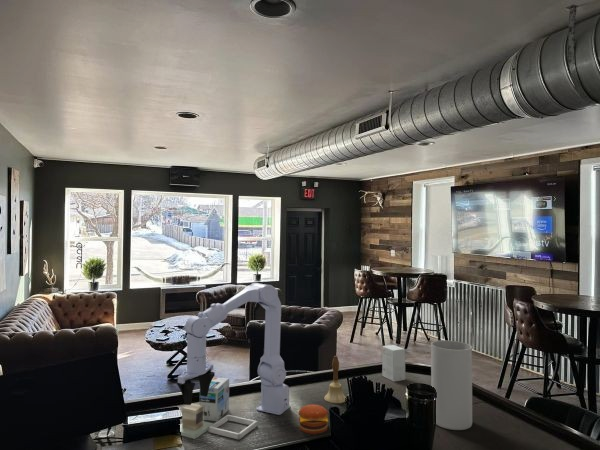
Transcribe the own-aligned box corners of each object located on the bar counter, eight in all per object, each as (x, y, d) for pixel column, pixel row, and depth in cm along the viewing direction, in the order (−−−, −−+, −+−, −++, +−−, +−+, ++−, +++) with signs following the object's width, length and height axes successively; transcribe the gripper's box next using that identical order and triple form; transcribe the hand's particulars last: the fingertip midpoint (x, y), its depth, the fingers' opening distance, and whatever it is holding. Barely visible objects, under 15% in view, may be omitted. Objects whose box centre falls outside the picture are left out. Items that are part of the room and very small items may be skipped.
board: (213, 426, 134) (213, 423, 134) (194, 438, 126) (194, 435, 126) (190, 421, 138) (190, 418, 138) (171, 432, 129) (171, 429, 129)
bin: (257, 425, 134) (257, 421, 134) (239, 439, 125) (239, 434, 125) (227, 419, 139) (227, 414, 139) (208, 432, 130) (208, 427, 130)
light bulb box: (217, 422, 137) (218, 388, 138) (198, 420, 139) (198, 386, 139) (229, 408, 148) (229, 377, 148) (211, 407, 149) (211, 376, 149)
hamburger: (330, 433, 129) (330, 411, 130) (299, 435, 129) (299, 413, 129) (326, 420, 139) (326, 400, 139) (296, 421, 138) (296, 400, 138)
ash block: (195, 430, 129) (195, 410, 129) (182, 427, 131) (182, 407, 131) (203, 425, 132) (203, 406, 132) (190, 422, 134) (191, 403, 135)
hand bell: (351, 400, 156) (351, 356, 156) (333, 405, 151) (333, 360, 152) (336, 393, 163) (337, 351, 163) (319, 398, 158) (319, 354, 159)
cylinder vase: (473, 434, 129) (472, 351, 130) (430, 427, 134) (430, 347, 134) (471, 417, 141) (471, 342, 142) (432, 412, 146) (432, 339, 146)
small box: (405, 380, 178) (405, 348, 179) (393, 382, 176) (393, 350, 176) (393, 374, 186) (393, 344, 186) (381, 376, 183) (381, 345, 183)
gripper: (201, 348, 140) (200, 390, 140) (170, 360, 127) (169, 405, 127) (218, 351, 137) (218, 393, 137) (188, 363, 124) (188, 410, 123)
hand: (196, 399), depth 131 cm, fingers open, 7 cm apart
